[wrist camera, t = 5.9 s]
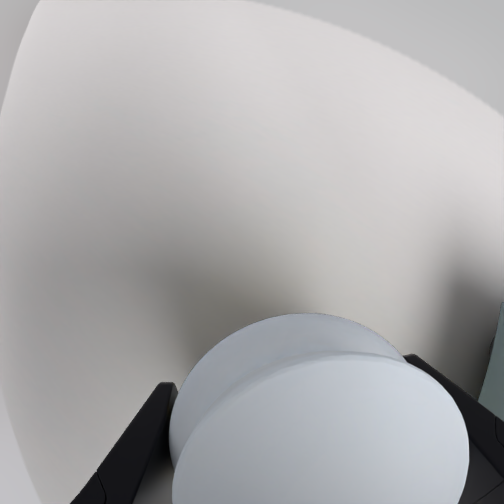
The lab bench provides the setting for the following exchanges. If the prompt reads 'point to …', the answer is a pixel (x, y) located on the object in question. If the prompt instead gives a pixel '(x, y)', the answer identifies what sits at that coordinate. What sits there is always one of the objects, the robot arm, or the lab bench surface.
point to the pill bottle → (314, 421)
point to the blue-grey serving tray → (495, 373)
